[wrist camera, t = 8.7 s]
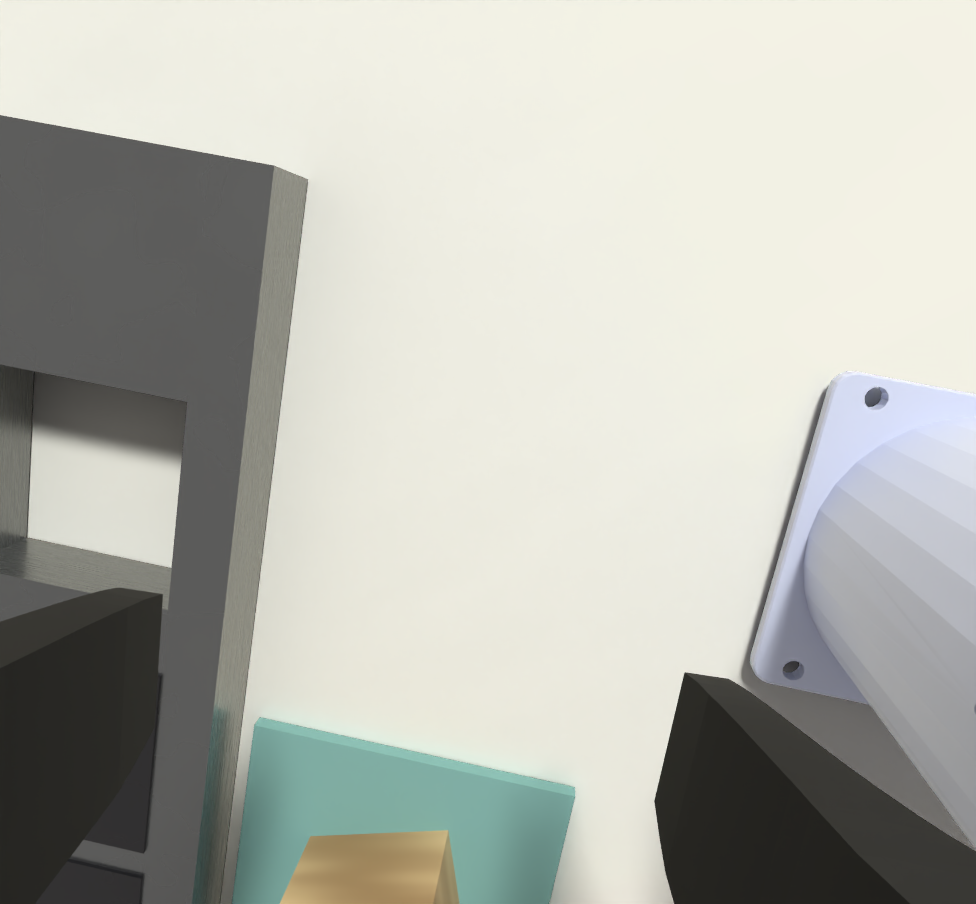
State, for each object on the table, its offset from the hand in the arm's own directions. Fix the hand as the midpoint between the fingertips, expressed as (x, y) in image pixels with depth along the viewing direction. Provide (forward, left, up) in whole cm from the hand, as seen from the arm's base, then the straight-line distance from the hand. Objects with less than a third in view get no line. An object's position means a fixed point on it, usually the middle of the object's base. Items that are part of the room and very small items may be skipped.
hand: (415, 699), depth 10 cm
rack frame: (+10, +5, -9) cm, 14 cm away
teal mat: (+1, +12, -9) cm, 15 cm away
